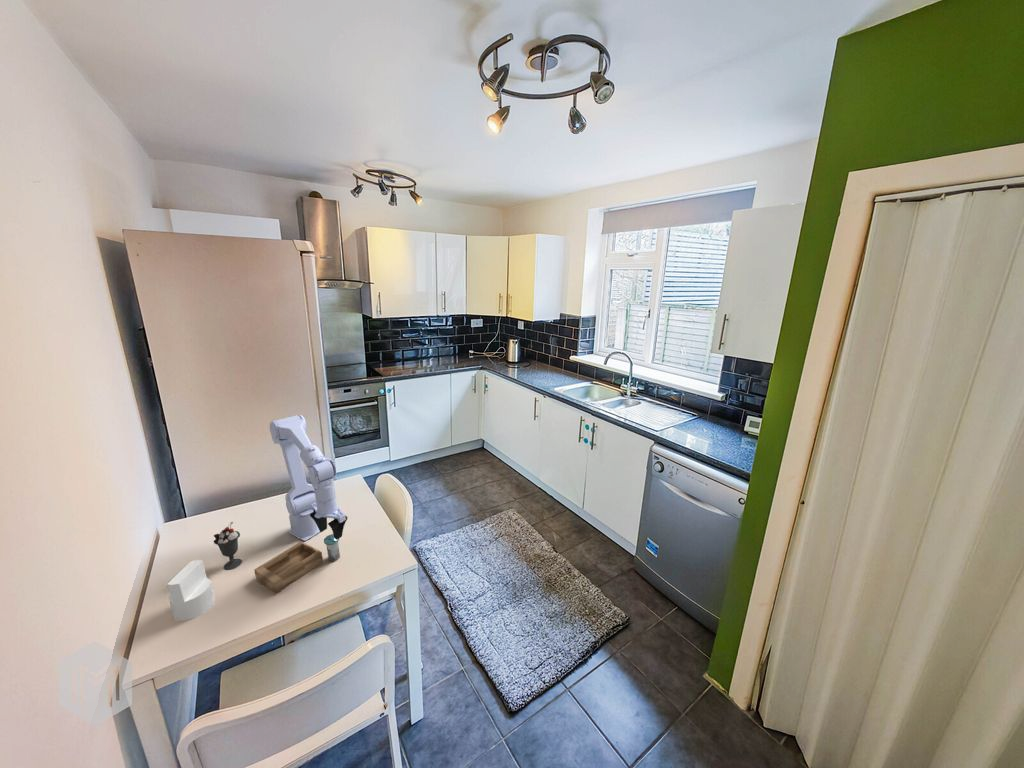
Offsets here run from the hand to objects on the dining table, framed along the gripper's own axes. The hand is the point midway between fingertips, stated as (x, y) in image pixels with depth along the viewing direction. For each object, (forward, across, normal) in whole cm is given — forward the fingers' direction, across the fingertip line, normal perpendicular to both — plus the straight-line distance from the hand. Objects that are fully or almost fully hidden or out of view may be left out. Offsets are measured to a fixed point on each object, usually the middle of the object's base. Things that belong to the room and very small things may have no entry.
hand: (330, 534), depth 123 cm
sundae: (+10, -26, -18) cm, 33 cm away
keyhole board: (+9, -7, -10) cm, 16 cm away
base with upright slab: (+10, -17, -32) cm, 37 cm away
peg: (+9, 0, 0) cm, 9 cm away
